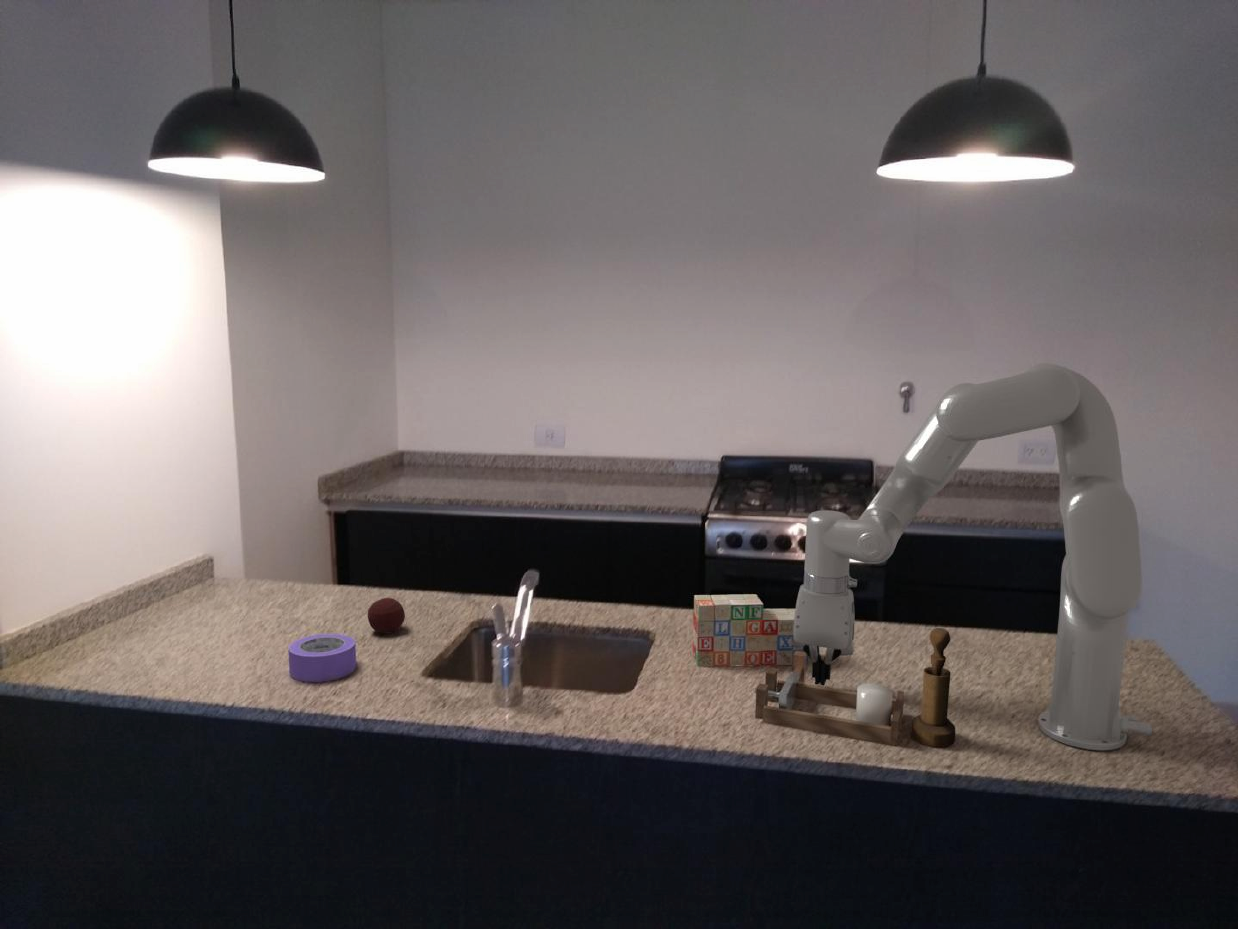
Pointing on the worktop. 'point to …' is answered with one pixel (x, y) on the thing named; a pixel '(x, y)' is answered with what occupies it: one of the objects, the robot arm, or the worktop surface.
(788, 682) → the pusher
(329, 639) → the tape roll
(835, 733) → the lane
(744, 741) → the worktop surface
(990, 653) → the worktop surface
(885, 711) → the white marshmallow
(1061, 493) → the robot arm
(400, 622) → the dark red ball
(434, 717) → the worktop surface
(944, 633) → the mortar and pestle
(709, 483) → the worktop surface
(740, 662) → the stack of blocks
